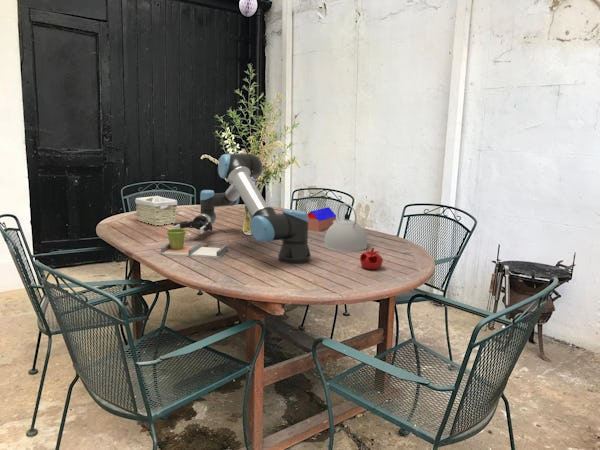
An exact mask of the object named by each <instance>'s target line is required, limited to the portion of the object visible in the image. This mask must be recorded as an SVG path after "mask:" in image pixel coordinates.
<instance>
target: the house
mask: <svg viewBox="0 0 600 450" xmlns="http://www.w3.org/2000/svg"><path fill="white" fill-rule="evenodd" d="M307 214H308V221H309V223H308V231H313V232H322V231H324V230H325V231H326V230H328V229H329V227H330V226H331V225H333V221H334V220H336V221H337V214H335V212H334V211H333V210H332V209H331V208H330V207H329V206H328V207H324V208H320V209H319V208H318V209H315V210H311V211H310V212H308V213H307Z"/></svg>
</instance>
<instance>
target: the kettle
mask: <svg viewBox="0 0 600 450" xmlns="http://www.w3.org/2000/svg"><path fill="white" fill-rule="evenodd" d="M342 206H349V207H350V208H351V209H352V211H353V214H354V220H353V219H352V220H351V219H349V218H350V215H349V213H346V214H344V219H341V218H340V209H341V207H342ZM336 216H337V219H338V220H337V219H336V220H334V221H333V225H331V226H330V227H329V229H326V233H325V235H324V239H323V240H324V241H323V246H324V248H326V249H328V250H331V251H336V252H337V251H338V252H345V253H348V252H350V253H353V252H354V251H355V252H361V250H362V251H365V250H367V249H368V236H367V233H366V231H365V229H364V228H363V227H362V225H360V224H359V223H358V222H357V212H356V210H355V208H354V206H353V205H351V204H350V203H346V202H345V203H344V202H343V203H340V204H339V205H338V208H337V214H336ZM366 248H367V249H366ZM364 249H365V250H364Z"/></svg>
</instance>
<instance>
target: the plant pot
mask: <svg viewBox="0 0 600 450" xmlns="http://www.w3.org/2000/svg"><path fill="white" fill-rule="evenodd" d="M165 232H166V234H167V236H168V242H169V243H170V248H171V249H182V248H183V246H185V245H184V244H185V235H186V233H187V230H186V228H181V229H174V228H170V229H167V230H166V231H165ZM169 243H168V244H169Z"/></svg>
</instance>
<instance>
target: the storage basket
mask: <svg viewBox="0 0 600 450" xmlns="http://www.w3.org/2000/svg"><path fill="white" fill-rule="evenodd" d="M134 203H135V204H136V205H135V206H136V207H135V208H136V215H137V217H136V218H137V221H138V220H139V221H138V222H140V221H142V222H141V223H144V222H145V224H148V223H149V224H148V225H151V224H152V225H151V226H157V225H159V226H165V225H166V224H167V225H172V224H171V223H173V224H174V223H177V222H176V219H177V208H178V201H177V199H173V198H169V197H164V196H163V197H162V196H160V195H154V196H145V197H144V196H143V197H136V198H135V200H134ZM164 224H165V225H164Z"/></svg>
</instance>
